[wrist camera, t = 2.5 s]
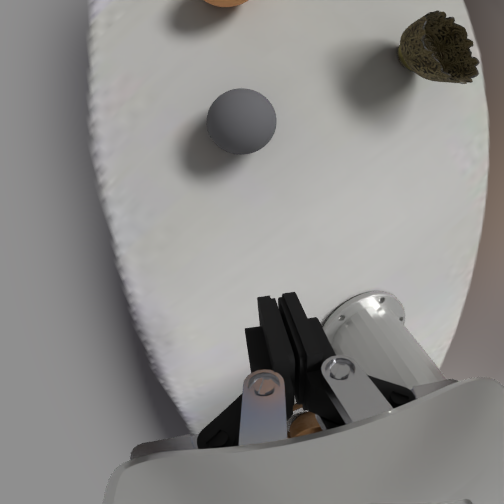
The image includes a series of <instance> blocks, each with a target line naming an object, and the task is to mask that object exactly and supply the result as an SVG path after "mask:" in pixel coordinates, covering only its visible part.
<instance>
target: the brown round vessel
mask: <svg viewBox="0 0 504 504" xmlns="http://www.w3.org/2000/svg"><path fill="white" fill-rule="evenodd" d="M454 21H455V19H454V17H449V18H446V13H445V12H439V11H435V12H429V13H428V14H426V15H425V16H423V17H422V18H420V19H418V20H417V21H415V22H414V23H413V24H411V25H410V26H409V27H408V28H407V29H406V30H405V31H404V32H403V34H402V36H401V40H400V45H399V47H398V50H397V54H398V58H399V60H400V62H401V64H402V65H403V66H404V67H405V68H407V69H408V70H411V71H414V72H415V73H416V74H418V75H419V76H421V77H423V78H425V79H428V80H432V81H438V82H452V83H461V84H467V83H466V82H473V81H472V79H471V78H474V77H476V76H477V75H478V74H479V73H478V70H477V68H476V66H477V65H478V64H479V60H478V59H477V58H475V57H473V58H472V56H471V54H472V52H471V51H470V49H469V48H470V47H471V46H472V47H473V41H471V40H470V39H467V32H466V29H465V28H464V27H462V26H460V25H458V24H455V23H453V22H454Z"/></svg>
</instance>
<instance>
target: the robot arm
mask: <svg viewBox="0 0 504 504" xmlns="http://www.w3.org/2000/svg"><path fill="white" fill-rule="evenodd" d="M257 300H258V311H259V321H260V326H259V327H252V328H245V334H246V341H247V348H248V355H249V362H250V368H251V374H250V375H248V376H247V377H246V379H245V381H244V384H243V393H242V394H241V395H240V396H239V397H238V398H237V399H236V400H235V401H234V402H233V403H232V404H231V405H230V406H228V407H227V408H226V409H225V410H224V411H223V412H222V413H221V414H220V415H219V416H218V417H216V418H215V419H214V420H213V421H212V422H211V423H210V424H208V425H207V426H206V427H205V428H204V429H203V430H202V431H201V432H200V433H199V434H197V435H193V436H190V434H187V435H183V436H178V437H173V438H168V439H163V440H158V441H153V442H146V443H142V444H139V445H137V446H136V447H134V448H133V450H132V452H131V457H130V459H131V460H129V461H127V462H125V463H123V464H122V465H120V466H118V467H117V468H116V469H115V470H114V472H113V473H112V474H111V476H110V478H109V481H108V484H107V486H106V490H105V494H104V499H103V504H504V386H503V385H502V384H501V383H500V382H498V381H497V380H495V379H493V378H489V377H477V378H470V379H465V380H462V381H457V380H454V379H446V378H445V376H444V375H443V373H442V372H441V371H440V370H439V368H438V367H437V366H436V364H435V363H434V362H433V360H432V359H431V358H430V357H429V355H428V354H427V353H426V352H425V350H424V349H423V348H422V347H421V345H420V344H419V343H418V342H417V340H416V339H415V338H414V337H413V335H412V334H411V333H410V332H409V331H408V329H407V328H406V327H405V326H404V323H405V311H404V308H403V305H402V304H401V302H400V301H399V300H398V299H397V298H396V297H395V296H393V295H392V294H390V293H387V292H382V291H372V292H367V293H364V294H361V295H358V296H356V297H354V298H352V299H350V300H349V301H347V302H345V303H344V304H343V305H341V306H340V307H339V308H338V309H337V310H336V311H335V312H334V313H333V314H332V315H331V316H330V317H329V318H328V320H327V321H326V323H325V324H324V326H323V328H322V326H321V324H320V322H319V320H318V318H316V317H314V318H309V319H307V317H306V314H305V312H304V310H303V308H302V306H301V304H300V301H299V299H298V297H297V295H296V293H295V292H291V293H284V294H282V297H279V298H278V306H279V309H278V306H277V303H276V300H275V298H273V299H271V298H270V296H264V297H257ZM294 395H295V398H296V402H297V404H298V405H300V404H302V406H303V410H304V411H305V410H308V411H310V412H312V413H314V414H315V416H316V420H317V421H318V423H319V425H320V427H321V429H322V430H323V431H320V432H316V433H312V434H308V435H303V436H298V437H293V438H288V439H287V420H288V419H289V418H290V417H291V416H292V414H293V406H294Z"/></svg>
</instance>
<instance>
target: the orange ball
mask: <svg viewBox="0 0 504 504" xmlns="http://www.w3.org/2000/svg"><path fill="white" fill-rule="evenodd" d="M204 1H206V2H207V3H209V4H212V5H214V6H219V7H233V6H237V5H240V4H243V3H245V2H246V1H248V0H204Z"/></svg>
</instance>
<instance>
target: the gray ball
mask: <svg viewBox="0 0 504 504" xmlns="http://www.w3.org/2000/svg"><path fill="white" fill-rule="evenodd" d="M207 129H208V132H209V134H210V137H211V138H212V140H213V141H214V142H215V144H216V145H218V146H219V147H220V148H221V149H223V150H225V151H227V152H230V153H233V154H249V153H253V152H256V151H258V150H260V149H261V148H263V147H264V146H265V145H266V144H267V143H268V142H269V141H270V140H271V138H272V136H273V134H274V132H275V129H276V114H275V110H274V108H273V106H272V104H271V103H270V102H269V100H268V99H267V98H266V97H265V96H263V95H262V94H260V93H258V92H256V91H254V90H250V89H234V90H230V91H227V92H225V93H223V94H222V95H220V96H219V97H218V98H217V99H216V100H215V101H214V102H213V104H212V105H211V107H210V109H209V111H208V115H207Z"/></svg>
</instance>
